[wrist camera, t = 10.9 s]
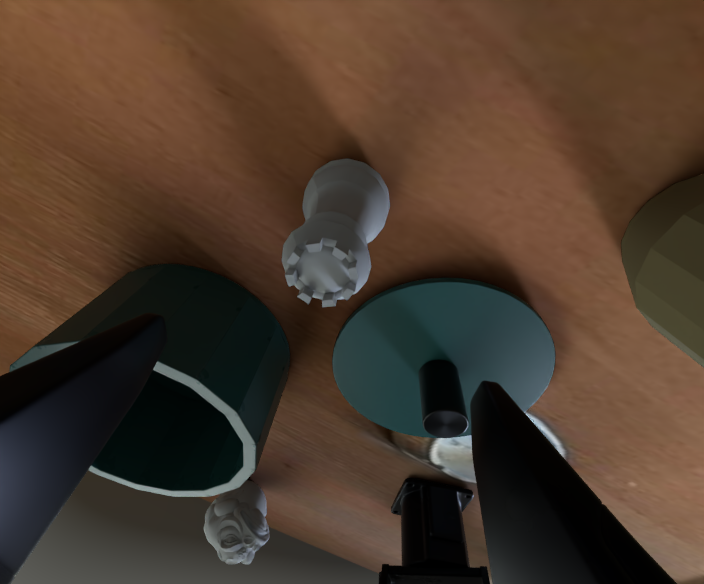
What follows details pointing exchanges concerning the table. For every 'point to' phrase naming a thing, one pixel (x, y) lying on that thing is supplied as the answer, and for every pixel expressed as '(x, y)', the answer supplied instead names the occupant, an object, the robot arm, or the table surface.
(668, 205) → the squeeze bottle
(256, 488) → the grey sculpted lump
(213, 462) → the pot
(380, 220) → the rook chess piece
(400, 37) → the table surface
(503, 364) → the lid
